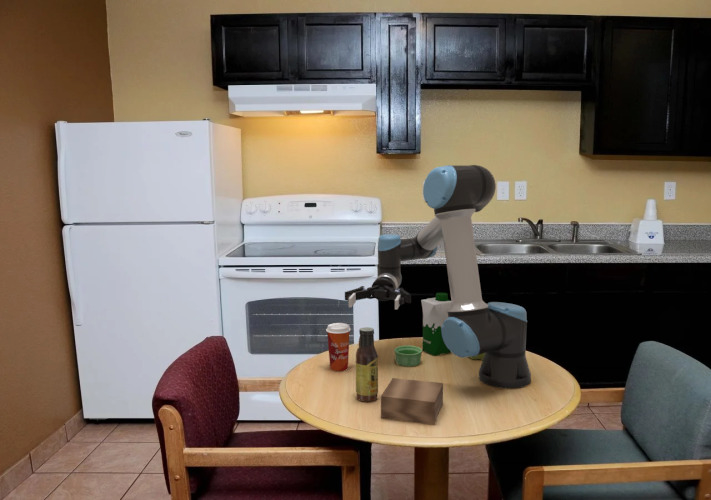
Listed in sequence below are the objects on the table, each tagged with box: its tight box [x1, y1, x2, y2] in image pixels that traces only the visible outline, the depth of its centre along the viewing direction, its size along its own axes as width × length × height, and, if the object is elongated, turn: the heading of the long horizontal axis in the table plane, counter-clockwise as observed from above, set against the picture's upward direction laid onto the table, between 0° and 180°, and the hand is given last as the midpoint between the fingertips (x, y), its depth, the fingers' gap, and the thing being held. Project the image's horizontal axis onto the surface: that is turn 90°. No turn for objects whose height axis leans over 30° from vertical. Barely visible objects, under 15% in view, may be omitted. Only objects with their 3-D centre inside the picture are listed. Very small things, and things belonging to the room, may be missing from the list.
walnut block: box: [380, 377, 444, 426], centre depth 158 cm, size 14×13×6 cm
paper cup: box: [325, 322, 352, 372], centre depth 190 cm, size 8×8×14 cm
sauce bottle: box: [355, 327, 379, 402], centre depth 166 cm, size 7×6×20 cm
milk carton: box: [420, 292, 452, 357], centre depth 204 cm, size 9×9×20 cm
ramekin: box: [393, 345, 423, 367], centre depth 195 cm, size 9×9×4 cm
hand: (372, 303), depth 173 cm, fingers open, 13 cm apart
